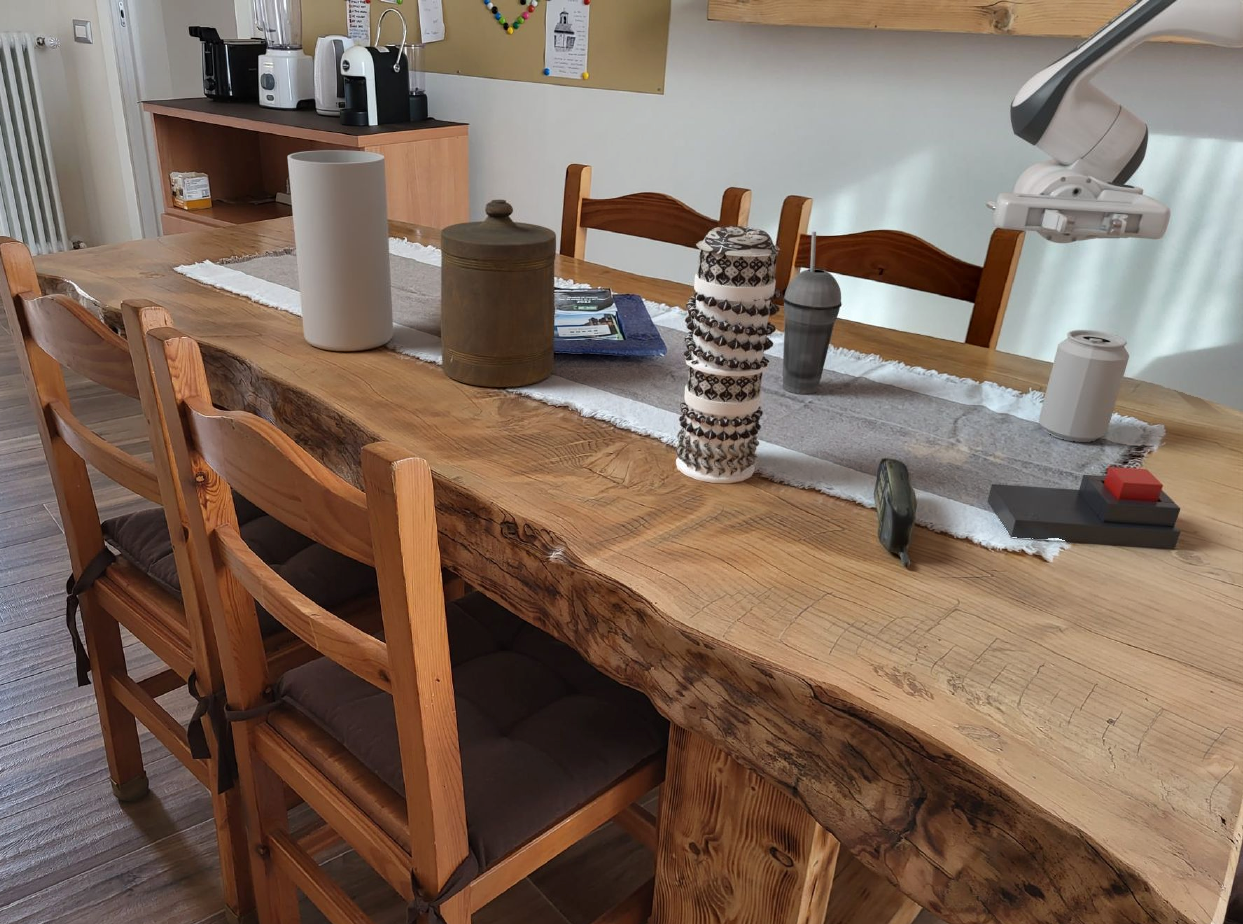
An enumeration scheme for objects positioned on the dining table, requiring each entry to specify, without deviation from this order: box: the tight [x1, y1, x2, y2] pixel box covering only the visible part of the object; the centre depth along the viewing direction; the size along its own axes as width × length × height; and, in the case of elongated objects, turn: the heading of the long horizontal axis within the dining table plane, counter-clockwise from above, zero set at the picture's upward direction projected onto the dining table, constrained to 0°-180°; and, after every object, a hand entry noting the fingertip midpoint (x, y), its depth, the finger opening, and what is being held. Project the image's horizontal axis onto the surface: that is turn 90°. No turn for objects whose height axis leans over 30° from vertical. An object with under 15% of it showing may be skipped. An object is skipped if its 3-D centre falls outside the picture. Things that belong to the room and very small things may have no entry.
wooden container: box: [440, 199, 557, 388], centre depth 128 cm, size 15×15×22 cm
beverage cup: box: [782, 231, 843, 395], centre depth 126 cm, size 7×7×20 cm
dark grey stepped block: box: [987, 474, 1181, 551], centre depth 96 cm, size 15×8×4 cm, turn 85°
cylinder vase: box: [287, 149, 394, 352], centre depth 137 cm, size 12×12×25 cm
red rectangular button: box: [1104, 466, 1164, 502], centre depth 95 cm, size 4×4×2 cm
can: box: [1038, 329, 1130, 443], centre depth 116 cm, size 8×8×12 cm
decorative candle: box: [675, 225, 783, 484], centre depth 101 cm, size 9×9×25 cm
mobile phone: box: [873, 457, 918, 568], centre depth 94 cm, size 5×3×15 cm
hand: (1093, 227), depth 120 cm, fingers open, 4 cm apart
